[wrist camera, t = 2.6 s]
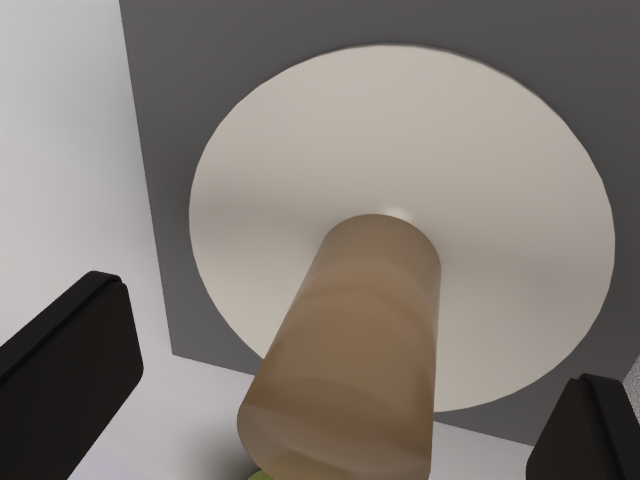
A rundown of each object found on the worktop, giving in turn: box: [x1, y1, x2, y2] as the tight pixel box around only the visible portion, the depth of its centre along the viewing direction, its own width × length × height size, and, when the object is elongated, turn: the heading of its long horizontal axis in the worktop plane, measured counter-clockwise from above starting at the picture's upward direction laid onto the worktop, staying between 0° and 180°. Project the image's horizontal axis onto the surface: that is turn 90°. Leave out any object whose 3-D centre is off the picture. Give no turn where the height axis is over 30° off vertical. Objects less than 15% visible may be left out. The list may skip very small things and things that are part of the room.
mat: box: [119, 0, 640, 446], centre depth 14 cm, size 16×16×1 cm
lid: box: [189, 42, 615, 480], centre depth 11 cm, size 12×12×7 cm
